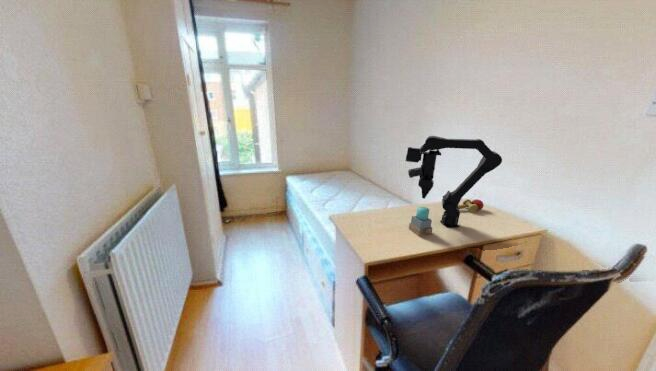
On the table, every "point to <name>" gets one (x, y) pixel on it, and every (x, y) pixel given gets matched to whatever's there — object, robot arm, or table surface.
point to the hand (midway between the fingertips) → (423, 195)
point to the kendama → (472, 205)
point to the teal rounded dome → (422, 213)
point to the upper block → (421, 223)
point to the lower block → (420, 230)
